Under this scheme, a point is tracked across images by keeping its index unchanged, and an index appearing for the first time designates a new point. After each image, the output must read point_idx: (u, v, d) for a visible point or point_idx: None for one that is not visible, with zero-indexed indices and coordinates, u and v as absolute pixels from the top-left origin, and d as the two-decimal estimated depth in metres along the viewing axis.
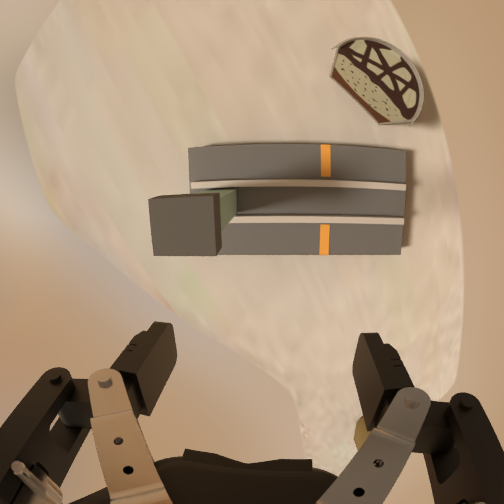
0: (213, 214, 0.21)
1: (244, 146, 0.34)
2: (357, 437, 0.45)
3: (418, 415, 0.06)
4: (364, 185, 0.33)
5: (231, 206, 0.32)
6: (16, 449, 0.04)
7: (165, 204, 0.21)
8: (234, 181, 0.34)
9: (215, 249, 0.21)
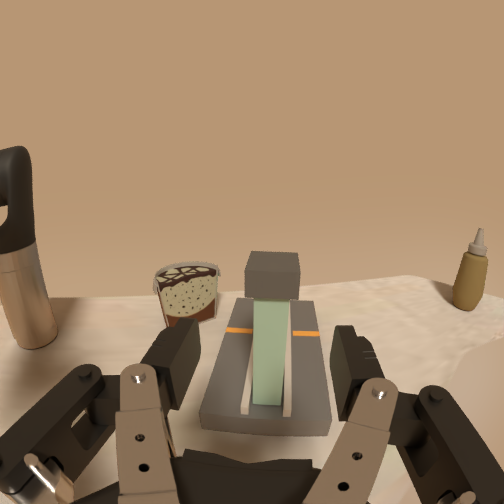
0: (265, 252, 0.28)
1: (214, 371, 0.34)
2: (474, 293, 0.48)
3: (383, 405, 0.07)
4: None
5: None
6: (32, 442, 0.05)
7: (252, 264, 0.25)
8: (247, 373, 0.32)
9: (292, 253, 0.28)
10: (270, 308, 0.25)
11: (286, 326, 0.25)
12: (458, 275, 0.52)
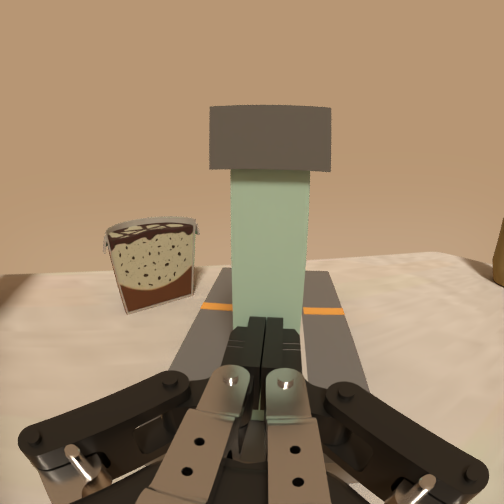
0: None
1: (172, 368, 0.19)
2: None
3: (283, 395, 0.08)
4: None
5: None
6: (82, 435, 0.05)
7: None
8: None
9: None
10: (267, 200, 0.11)
11: (304, 245, 0.11)
12: (499, 244, 0.37)
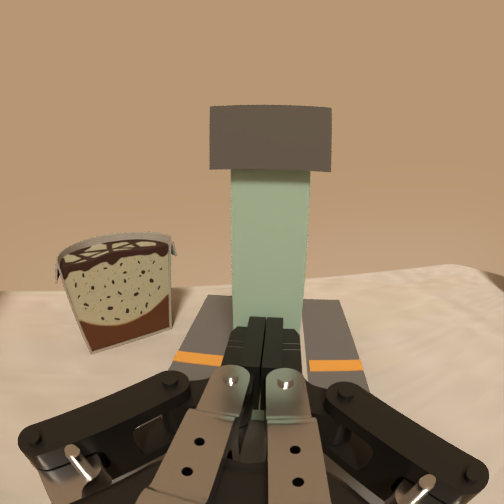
0: None
1: None
2: None
3: (283, 395, 0.08)
4: None
5: None
6: (82, 435, 0.05)
7: None
8: None
9: None
10: (267, 200, 0.11)
11: (304, 245, 0.11)
12: None
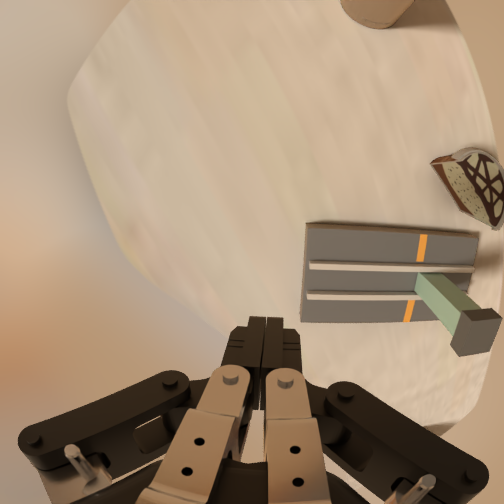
0: (498, 328, 0.22)
1: (360, 232, 0.37)
2: None
3: (283, 395, 0.08)
4: (446, 270, 0.36)
5: None
6: (82, 435, 0.05)
7: (479, 324, 0.22)
8: (350, 265, 0.37)
9: (490, 347, 0.23)
10: (454, 321, 0.26)
11: (445, 325, 0.28)
12: None
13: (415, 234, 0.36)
